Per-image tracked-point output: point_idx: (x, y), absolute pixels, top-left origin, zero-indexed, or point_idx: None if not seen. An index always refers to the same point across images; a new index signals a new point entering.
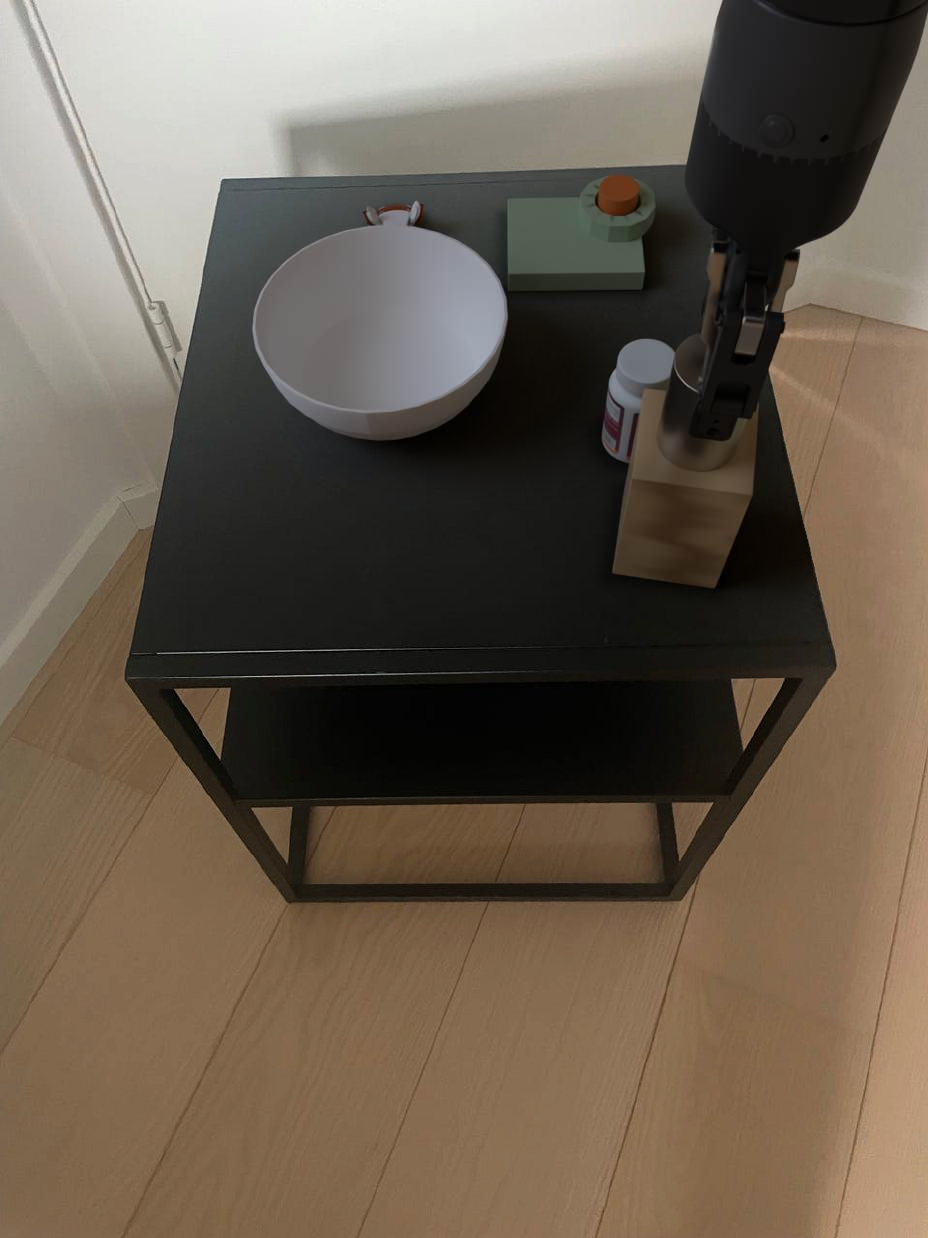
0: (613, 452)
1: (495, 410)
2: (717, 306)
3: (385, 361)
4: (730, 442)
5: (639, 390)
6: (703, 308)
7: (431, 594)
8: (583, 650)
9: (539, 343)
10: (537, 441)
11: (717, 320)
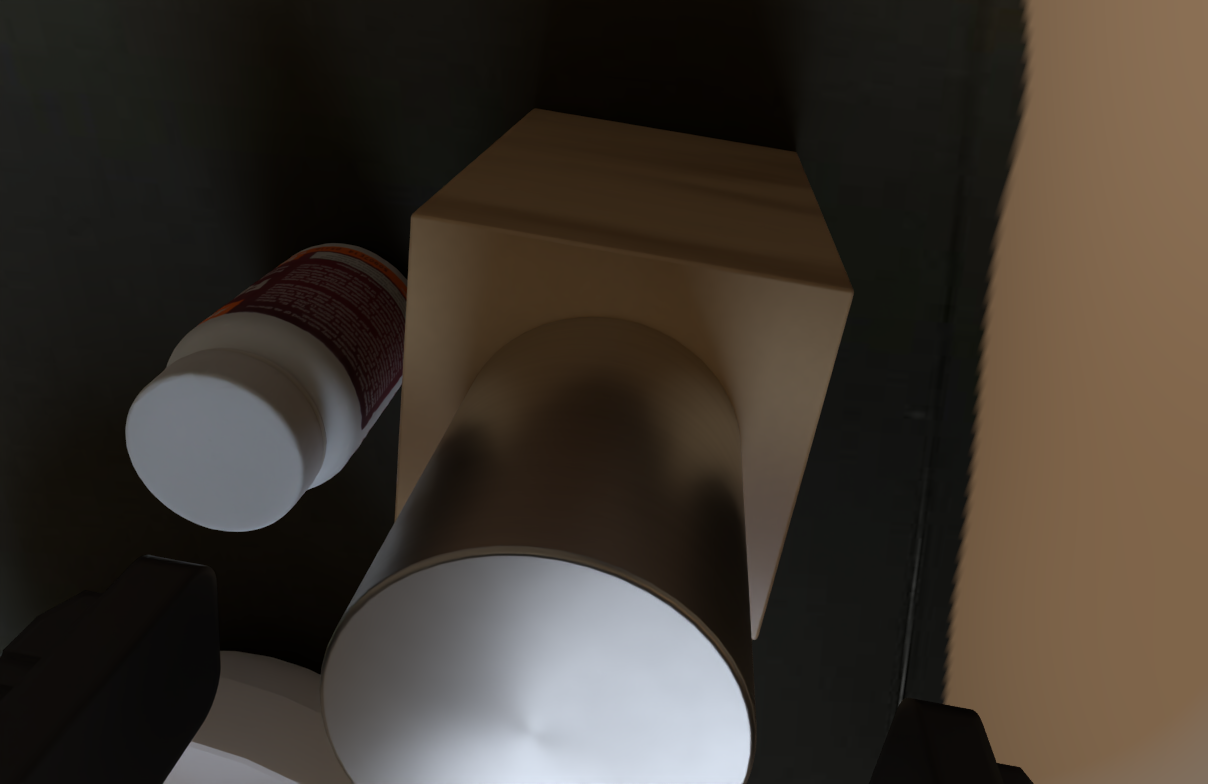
0: None
1: (311, 593)
2: (174, 709)
3: (229, 777)
4: (719, 443)
5: (317, 465)
6: (190, 740)
7: (776, 714)
8: (938, 461)
9: (103, 501)
10: (383, 519)
11: (217, 632)
